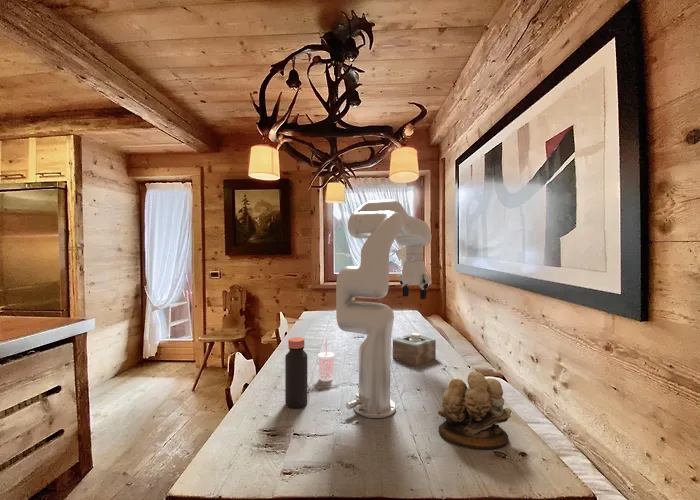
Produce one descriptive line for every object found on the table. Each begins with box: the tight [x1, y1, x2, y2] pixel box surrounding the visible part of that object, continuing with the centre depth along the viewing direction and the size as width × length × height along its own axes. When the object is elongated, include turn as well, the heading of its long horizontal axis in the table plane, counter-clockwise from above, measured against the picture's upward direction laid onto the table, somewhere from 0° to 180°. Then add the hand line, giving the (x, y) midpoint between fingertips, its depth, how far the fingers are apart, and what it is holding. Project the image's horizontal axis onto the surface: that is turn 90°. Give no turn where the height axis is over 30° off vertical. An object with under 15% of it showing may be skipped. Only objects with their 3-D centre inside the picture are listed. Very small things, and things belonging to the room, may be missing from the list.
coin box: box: [392, 334, 437, 367], centre depth 142 cm, size 14×12×8 cm
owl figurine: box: [437, 370, 513, 451], centre depth 84 cm, size 18×12×17 cm, turn 83°
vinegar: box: [284, 336, 308, 410], centre depth 101 cm, size 7×7×20 cm
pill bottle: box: [409, 332, 421, 343], centre depth 142 cm, size 5×5×10 cm
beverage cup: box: [317, 340, 335, 382], centre depth 120 cm, size 6×6×14 cm
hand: (414, 297), depth 141 cm, fingers open, 9 cm apart
